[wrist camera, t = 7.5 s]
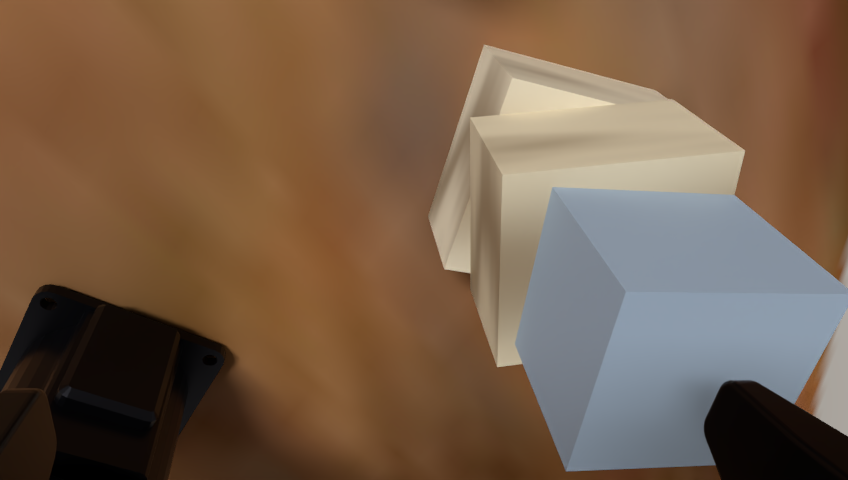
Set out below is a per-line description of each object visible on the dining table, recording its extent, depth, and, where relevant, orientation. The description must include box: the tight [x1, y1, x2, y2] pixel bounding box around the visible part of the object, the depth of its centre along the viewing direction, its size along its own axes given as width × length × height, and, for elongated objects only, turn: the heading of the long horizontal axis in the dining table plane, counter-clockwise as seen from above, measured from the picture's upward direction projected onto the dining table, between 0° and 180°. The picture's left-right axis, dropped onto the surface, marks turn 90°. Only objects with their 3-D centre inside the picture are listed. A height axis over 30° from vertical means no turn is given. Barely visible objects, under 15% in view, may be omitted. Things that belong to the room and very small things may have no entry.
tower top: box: [470, 99, 745, 367], centre depth 17 cm, size 6×6×4 cm
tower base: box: [428, 45, 668, 273], centre depth 20 cm, size 6×6×4 cm
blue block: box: [515, 187, 848, 471], centre depth 14 cm, size 4×4×4 cm
